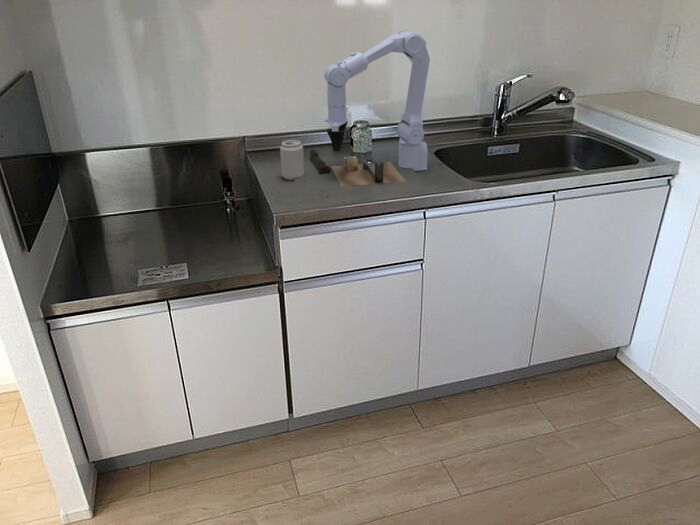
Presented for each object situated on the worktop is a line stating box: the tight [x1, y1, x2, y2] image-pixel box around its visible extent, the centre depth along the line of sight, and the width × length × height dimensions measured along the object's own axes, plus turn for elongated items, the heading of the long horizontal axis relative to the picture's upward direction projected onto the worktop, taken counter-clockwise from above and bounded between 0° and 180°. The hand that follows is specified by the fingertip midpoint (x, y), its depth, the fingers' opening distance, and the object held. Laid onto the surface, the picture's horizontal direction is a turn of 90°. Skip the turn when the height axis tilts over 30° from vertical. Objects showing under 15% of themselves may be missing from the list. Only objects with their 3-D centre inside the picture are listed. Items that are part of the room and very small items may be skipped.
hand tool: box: [309, 149, 332, 175], centre depth 200 cm, size 19×4×5 cm, turn 15°
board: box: [330, 155, 407, 188], centre depth 192 cm, size 21×20×4 cm
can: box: [279, 139, 305, 181], centre depth 191 cm, size 8×8×12 cm
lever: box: [362, 157, 384, 183], centre depth 190 cm, size 18×4×6 cm, turn 11°
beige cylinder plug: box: [347, 157, 359, 171], centre depth 195 cm, size 4×4×3 cm
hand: (338, 147), depth 189 cm, fingers open, 7 cm apart
